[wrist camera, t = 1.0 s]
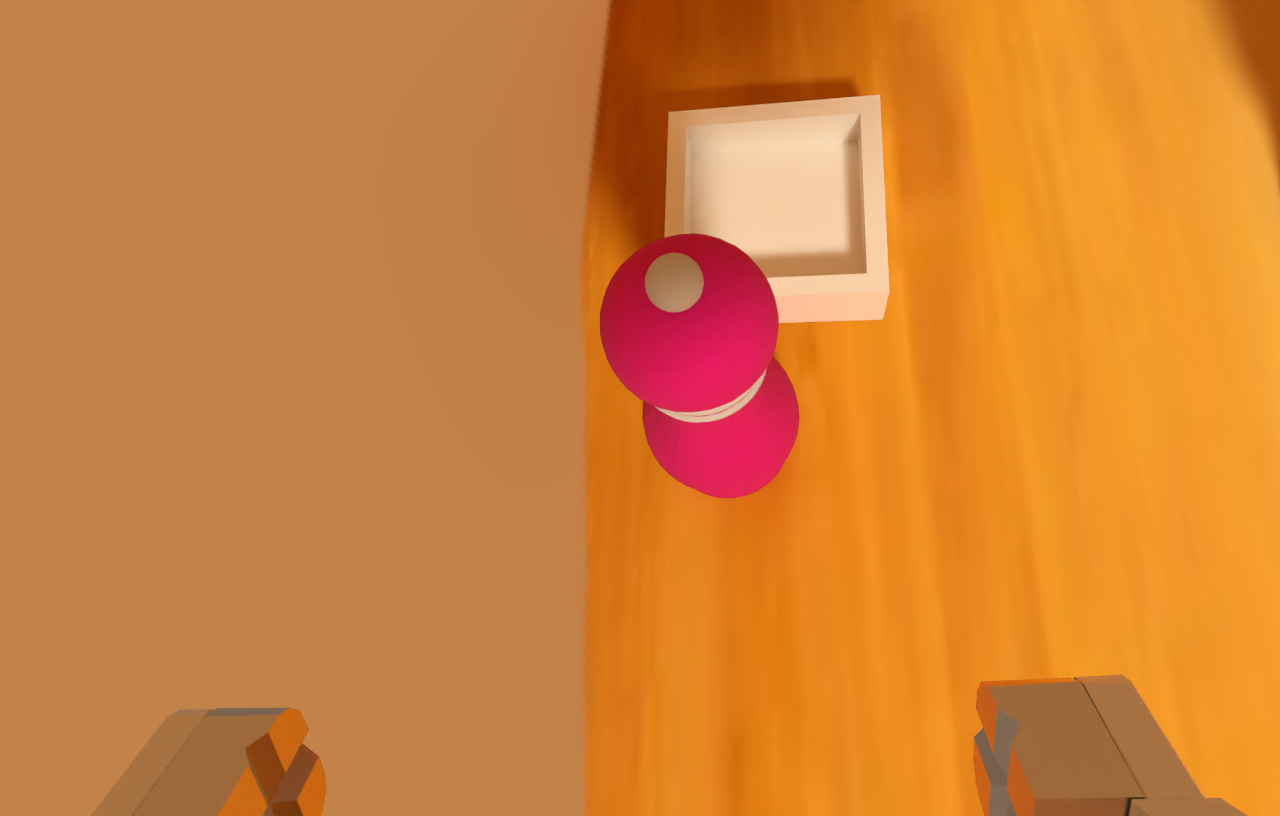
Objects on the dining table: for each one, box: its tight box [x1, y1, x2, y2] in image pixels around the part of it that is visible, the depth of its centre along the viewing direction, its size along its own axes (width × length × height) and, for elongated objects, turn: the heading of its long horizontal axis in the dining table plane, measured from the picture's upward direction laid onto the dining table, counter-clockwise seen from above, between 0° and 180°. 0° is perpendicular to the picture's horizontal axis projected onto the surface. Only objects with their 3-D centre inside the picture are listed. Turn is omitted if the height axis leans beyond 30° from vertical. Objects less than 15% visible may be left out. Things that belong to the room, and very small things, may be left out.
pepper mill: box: [600, 233, 799, 498], centre depth 34 cm, size 7×7×20 cm
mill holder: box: [664, 95, 889, 323], centre depth 44 cm, size 11×11×4 cm
